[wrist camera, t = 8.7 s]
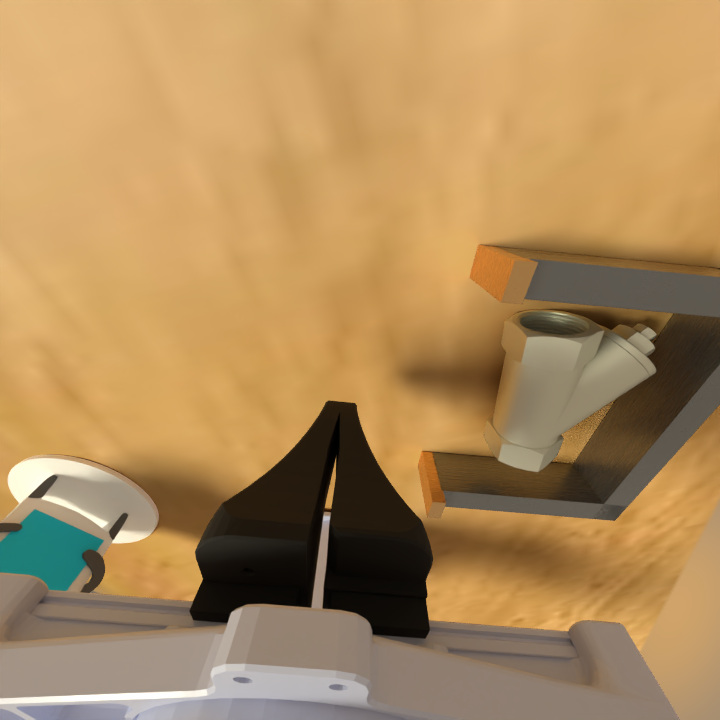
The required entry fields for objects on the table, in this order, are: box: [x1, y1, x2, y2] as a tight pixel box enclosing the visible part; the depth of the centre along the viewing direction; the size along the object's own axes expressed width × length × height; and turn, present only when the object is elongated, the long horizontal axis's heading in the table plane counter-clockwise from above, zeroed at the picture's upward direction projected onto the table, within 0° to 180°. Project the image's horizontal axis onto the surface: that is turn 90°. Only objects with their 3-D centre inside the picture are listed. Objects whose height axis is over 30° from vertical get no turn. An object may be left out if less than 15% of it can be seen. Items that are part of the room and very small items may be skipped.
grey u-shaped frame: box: [418, 245, 720, 521], centre depth 15 cm, size 15×12×4 cm
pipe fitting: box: [484, 310, 657, 472], centre depth 15 cm, size 8×4×7 cm
